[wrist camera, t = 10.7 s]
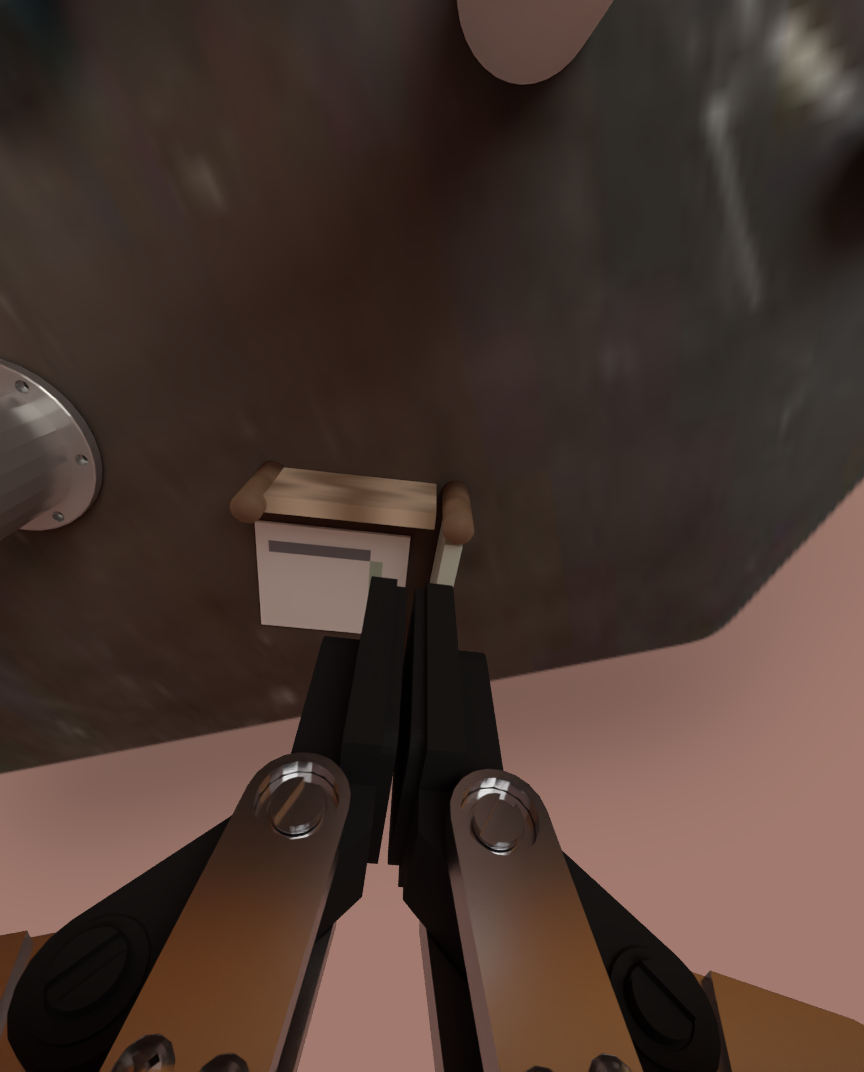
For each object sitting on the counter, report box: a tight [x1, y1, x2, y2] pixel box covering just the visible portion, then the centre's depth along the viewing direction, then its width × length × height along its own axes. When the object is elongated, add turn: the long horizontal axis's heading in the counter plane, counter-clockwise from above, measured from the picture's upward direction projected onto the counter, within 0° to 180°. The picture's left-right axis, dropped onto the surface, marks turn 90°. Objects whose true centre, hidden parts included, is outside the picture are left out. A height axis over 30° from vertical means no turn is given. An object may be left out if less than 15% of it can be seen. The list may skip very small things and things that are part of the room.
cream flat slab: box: [430, 519, 462, 586], centre depth 38 cm, size 12×2×5 cm, turn 170°
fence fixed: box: [230, 461, 474, 545], centre depth 34 cm, size 16×2×6 cm, turn 84°
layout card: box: [255, 520, 411, 633], centre depth 41 cm, size 12×10×1 cm
